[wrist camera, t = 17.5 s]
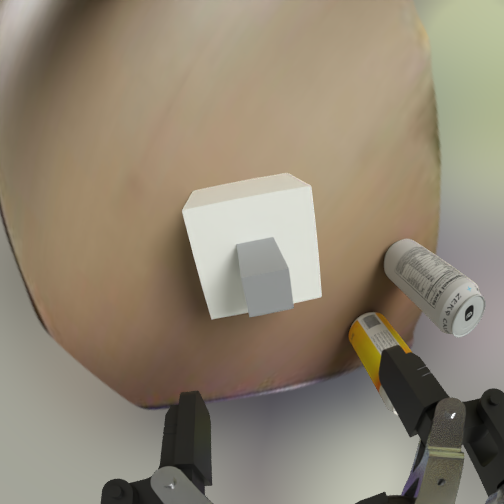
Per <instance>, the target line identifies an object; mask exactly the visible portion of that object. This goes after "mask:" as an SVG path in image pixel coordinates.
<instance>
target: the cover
mask: <svg viewBox="0 0 504 504" xmlns="http://www.w3.org/2000/svg"><path fill="white" fill-rule="evenodd" d="M182 212H183V217H184V221H185V225H186V229H187V233H188V237H189V240H190V244H191V248H192V252H193V256H194V259H195V263H196V267H197V271H198V274H199V278H200V281H201V285H202V288H203V292H204V295H205V299H206V302H207V306H208V309H209V313H210V316H211V319H216V318H222V317H228V316H233V315H238V314H244V313H249V317H254V316H259V315H264V314H269V313H274V312H279V311H283V310H288V309H293V308H294V305H293V303H297V302H302V301H306V300H310V299H315V298H319V297H322V294H321V280H320V267H319V255H318V244H317V234H316V224H315V215H314V206H313V197H312V189H311V185H309V184H307V183H305V182H303V181H302V180H300V179H298V178H296V177H294V176H293V175H291V174H289V173H283V174H277V175H271V176H265V177H260V178H254V179H249V180H243V181H238V182H233V183H228V184H223V185H218V186H213V187H208V188H203V189H199V190H194V191H193V192H192V193H191V195H190V197H189V199H188V200H187V202H186V204H185V206H184V208H183V209H182Z"/></svg>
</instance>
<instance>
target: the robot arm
mask: <svg viewBox="0 0 504 504" xmlns="http://www.w3.org/2000/svg"><path fill="white" fill-rule="evenodd" d="M379 380H380V383H381V385H382V387H383V389H384V391H385V392H386V394H387V396H388V398H389V400H390V401H391V403H392V405H393V407H394V409H395V410H396V412H397V414H398V416H399V417H400V419H401V421H402V423H403V425H404V427H405V429H406V431H407V432H408V434H409V436H410V437H412V436H414V435H417V434H418V435H419V437H420V441H419V444H418V448H417V452H416V455H415V459H414V463H413V466H412V470H411V472H410V476H409V478H408V480H407V482H406V484H405V486H404V489H403V491H402V494H401V495H390V496H386V493H385V492H383V493H380V494H378V495H375V496H372V497H370V498H367V499H364V500H361V501H359V502H357V503H355V504H455V500H456V496H457V493H458V488H459V484H460V479H461V475H462V470H463V464H464V453H463V452H461V448H462V444H463V445H464V447H465V449H466V451H467V453H468V455H469V457H470V459H471V461H472V463H473V465H474V467H475V469H476V471H477V473H478V475H479V477H480V479H481V481H482V484H483V486H484V488H485V490H486V492H487V495H488V499H487V501H486V503H485V504H504V393H503V392H502V391H501V390H498V389H489V390H487V391H485V392H484V393H483V395H482V397H481V398H480V399H476V400H472V401H467V402H461V401H460V400H459V399H457V398H453V397H449V396H448V395H447V394H446V392H445V391H444V389H443V388H442V387H441V386H440V384H439V382H438V381H437V380H436V378H435V377H434V376H433V374H432V373H431V372H430V370H429V369H428V368H427V367H426V365H425V364H424V362H423V361H422V360H421V358H420V357H418V356H417V355H415V354H413V353H412V352H409V353H405V351H404V350H403V349H402V347H401V346H400V345H395V346H392V347H389V348H387V349H384V350H382V353H381V360H380V366H379ZM163 433H164V436H163V441H162V451H161V461H160V466H159V469H158V470H156V471H155V472H154V474H153V475H152V476H151V477H149V478H147V479H144V480H140V481H136V482H132V483H128V482H127V481H125V480H122V479H113V480H110V481H108V482H107V483H106V484H105V485H104V487H103V489H102V497H101V504H213V503H212V502H211V501H210V500H209V499H208V498H207V497H206V496H205V486H211V485H212V466H211V421H210V415H209V412H208V410H207V408H206V405H205V403H204V401H203V399H202V397H201V395H200V393H199V391H191V392H182V393H181V394H180V399H179V405H171V407H170V408H169V410H168V412H167V414H166V416H165V427H164V432H163Z"/></svg>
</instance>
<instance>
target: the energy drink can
mask: <svg viewBox="0 0 504 504" xmlns="http://www.w3.org/2000/svg"><path fill="white" fill-rule="evenodd" d="M384 270H385V273H386V275H387V277H388V278H389V279H390V280H391V281H392V282H393V283H394V284H395V285H396V286H397V287H398V288H399V289H401V290H402V291H403V292H404V293H405V294H406V295H407V296H408V297H409V298H410V299H411V300H412V301H413V302H414V303H415V304H416V305H417V306H418V307H419V308H420V309H421V310H422V311H423V312H424V313H425V314H426V315H427V317H429V319H430V320H431V321H432V322H433V323H434V324H435V325H436V326H437V327H438V328H439V329H440V330H441V331H442V332H444V333H448V334H453V335H454V336H455V337H463V336H465V335H467V334H468V333H470V332H471V331H472V330H473V329H474V328H475V327H476V326H477V324H478V323H479V321H480V320H481V318H482V315H483V313H484V310H485V299H484V297H483V296H482V295H481V294H480V291H479V287H478V286H477V284H476V283H474V282H473V281H472V280H470V279H469V278H468V277H466V276H465V275H463V274H462V273H460V272H459V271H458V270H456V269H455V268H454V267H452V266H451V265H449V264H448V263H447V262H445V261H443V260H442V259H441V258H439V257H438V256H436V255H435V254H433V253H432V252H430V251H429V250H427V249H426V248H424V247H423V246H421V245H420V244H418V243H417V242H415V241H413V240H411V239H403V240H400V241H398V242H395V243H394V244H393V245H392V246H391V247H390V248H389V249H388V251H387V252H386V255H385V258H384Z"/></svg>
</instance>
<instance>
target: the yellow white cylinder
mask: <svg viewBox="0 0 504 504" xmlns="http://www.w3.org/2000/svg"><path fill="white" fill-rule="evenodd" d="M349 341H350V342H351V344H352V346H353V348H354V349H355V351H356V353H357V355H358V356H359V358H360V360H361V362H362V363H363V365H364V367H365V369H366V371H367V372H368V374H369V376H370V378H371V379H372V381H373V383H374V385H375V387H376V389H377V390H378V392H379V394H380V396H381V398H382V400H383V402H384V403H385V405H386V407H387V409H388V410H390V411H392V412H393V413H394V414H395V415H398V414H397V412H396V410H395V409H394V407H393V405H392V403H391V401H390V400H389V398H388V396H387V394H386V392H385V391H384V389H383V387H382V385H381V383H380V380H379V366H380V360H381V353H382V350H384V349H387V348H389V347H392V346H395V345H400V346H401V347H402V349H403V350H404V351H405V353H409V352H412V351H411V350H410V349H409V347H408V346H407V345H406V344H405V342H404V341H403V340H402V338H401V337H400V336H399V335H398V333H397V332H396V331H395V330H394V328H393V327H392V326H391V324H390V323H389V322H388V321H387V319H386V318H385V317H384V316H383V315H382V314H380V313H377V312H370V313H365V314H363V315H361V316H359V317H358V318H357V319H356V320H355V321H354V322H353V324H352V326H351V328H350V331H349Z"/></svg>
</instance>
